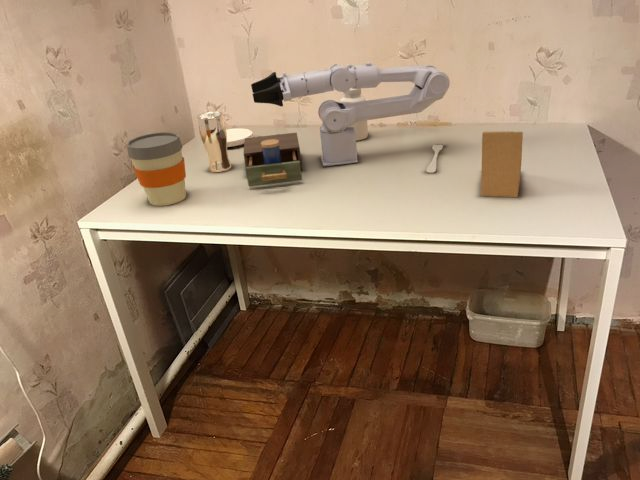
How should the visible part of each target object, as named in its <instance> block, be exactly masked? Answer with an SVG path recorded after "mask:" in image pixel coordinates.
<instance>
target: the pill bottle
mask: <svg viewBox="0 0 640 480" xmlns="http://www.w3.org/2000/svg"><path fill="white" fill-rule="evenodd" d="M342 94H343V96H342V97H341V98H340V99H339V102H352V103H353V102H360V101H367V99H366V97H365V96H363V95H362V88H360V89H352V88H350V89H349V90H348V91H347V92H342ZM347 127H354V130H355V136H356V142H358V141H362V140H366V139H367V138H368V136H369V129H368V128H369V127H368V120H366V121H359V122H355V123H354V124H353V125H351V126H347Z"/></svg>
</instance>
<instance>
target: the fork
mask: <svg viewBox="0 0 640 480" xmlns="http://www.w3.org/2000/svg"><path fill="white" fill-rule="evenodd" d="M443 148H444V144H432V147H431V150H432V151H434V155H433V157H432V160H431V161H430V163H429V164H428V166H427V167H426V173H427V174H435V172H436V171H437V169H438V168H437V167H438V165H437V163H438V162H437V161H438V155H439V152H441V151H442V150H443Z"/></svg>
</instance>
